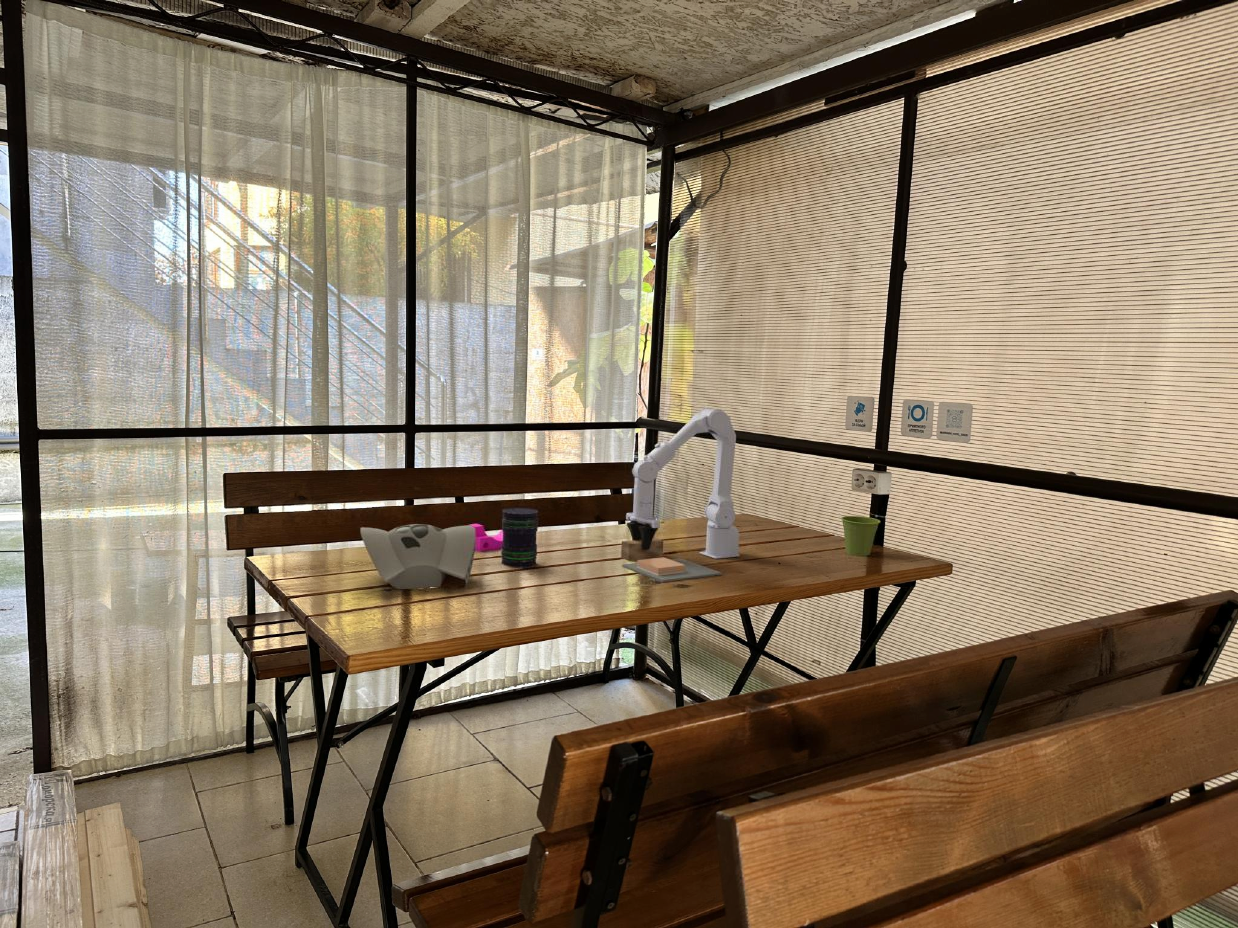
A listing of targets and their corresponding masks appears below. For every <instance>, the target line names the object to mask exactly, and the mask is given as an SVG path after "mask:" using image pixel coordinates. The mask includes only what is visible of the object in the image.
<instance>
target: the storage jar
mask: <svg viewBox="0 0 1238 928" xmlns="http://www.w3.org/2000/svg"><path fill="white" fill-rule="evenodd" d="M538 514H539V510H538V509H535V508H529V507H508V508H504V509H502V519H501V520H502V521H501V524H502V526H501V531H502V530H503V544H502V550H500V555H501V565H503V566H507V567H513V568H523V569H526V568H527V569H528V568H529V569H530V568H532V567H536V566H537V556H538V545H537V532H538V529H539V528H538V527H539V526H538V525H539V516H538Z"/></svg>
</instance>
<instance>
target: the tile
mask: <svg viewBox="0 0 1238 928" xmlns="http://www.w3.org/2000/svg"><path fill="white" fill-rule="evenodd" d="M670 559H671V558H667V557H664V556H663V557H659V558H650V559H641V560H636V561H637V562H636V563H637V568H640V569H643V570H645V571H648V572H650V573H653V574H655V575H658V576H659V575H667V574H675V573H684V572H685V565H684V564H681V563H678V562H676V561H673V560H670Z"/></svg>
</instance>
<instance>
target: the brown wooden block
mask: <svg viewBox="0 0 1238 928" xmlns="http://www.w3.org/2000/svg"><path fill="white" fill-rule="evenodd" d="M620 549H621V550H620V552H621V553H620V559H623V560H625V561H627V562H633V561H637V560H644V559H653V558H663V557H664V540H662V539H658V538H654V537H653V539H652V542H651V546H650V549H649V550H642V540H632V539H631V540H624V541H623V540H622V541H621V548H620Z"/></svg>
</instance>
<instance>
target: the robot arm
mask: <svg viewBox="0 0 1238 928" xmlns="http://www.w3.org/2000/svg"><path fill="white" fill-rule="evenodd" d="M700 433H701V434H703V433H710V434H711V435H712V436H713V438H714V439H715V440H716V441H717V443H716V452H715V453H716V455H715V464H714V474H713V485H712V492H711V494H710V496H709V497H708V503H707V505H706V506H705V509H704V516H705V518H706V520H707V523H706V542H705V551H699V554H700V555H704V556H706V557H710V558H713V559H726V558H734V557H741V554H740V553H739V546H740V544H739V543H740V533H739V530H738V528H737V527H736V526H735V525H733V524H734V523H735V520H736V512H735V510H734V505H735V503H734V500H733V498H732V496H731V494H732V493H731V492H732V484H733V483H732V482H733V472H734V462H735V454H736V453H735V452H736V441H737V434H736V432H735V430H734V427H733V424H732V422H731V417H730V416H729V415H728V414H727V413H725V411H723V410H722V409H715V408H714V409H713V408H710V407H705V408H704V407H703V408H701V410H699V411H698V413H696V414H694V415H693V416H692V417H691V419H690V420H689V421H688V422H686V423H685V425H684V426H682V428H681V429H679V430H678V431H677V433H676V434H674V435H673V436H672V438H670V439H669V441H667V442H666V441H661V442H660V443H656V444H655V445H654V449H653V450H651V452H649V453H648V454H646V455H643V457H642V458H643V459H642V460H638V461H637V462H636V463H634V465H633V468H631V473H632V475H633V477H634V486H633V506H632V507H633V509H632V510H633V511H632V512H627V513H626V515H625V519H626V520H627V521H629V522H627V523H626V526H627V527H628V530H629V533H630V537H631V540H642V550H649V549H650V546H651V542H652V539H653V538H654V537H655V534H656V532H657V531H658V530H659V528H661V527H660V526H661V525H660V523H661V521H660V520H658V519H656V518H655V517H654V515H653V513H654V495H655V480H656V479H657V477H658V474H659V472H660V471H661V470H662V469H663V468H664V467H665V466H667V465H668V464H669V463H670V462H671V461H672V460H673V459H674V458H675V457H676V452H677V450H679V448H680V447H682V446H683V445H684V444H686V443H687V442H688V441H689V440H690V439H692V438H693V437H694V436H695V435H696V434H700Z"/></svg>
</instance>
